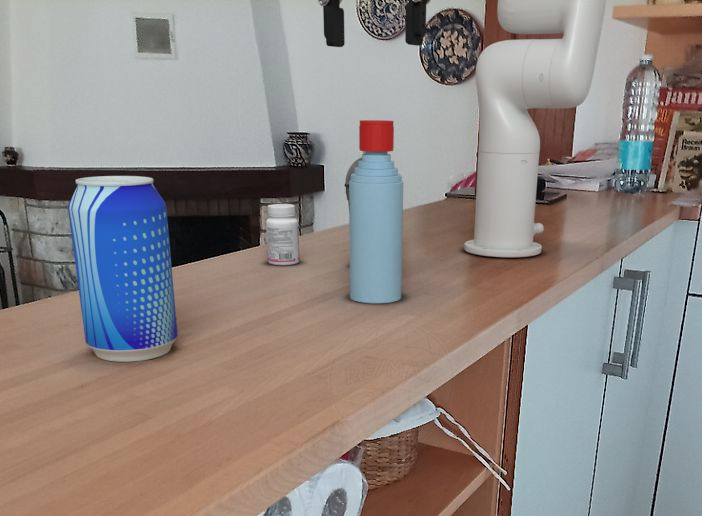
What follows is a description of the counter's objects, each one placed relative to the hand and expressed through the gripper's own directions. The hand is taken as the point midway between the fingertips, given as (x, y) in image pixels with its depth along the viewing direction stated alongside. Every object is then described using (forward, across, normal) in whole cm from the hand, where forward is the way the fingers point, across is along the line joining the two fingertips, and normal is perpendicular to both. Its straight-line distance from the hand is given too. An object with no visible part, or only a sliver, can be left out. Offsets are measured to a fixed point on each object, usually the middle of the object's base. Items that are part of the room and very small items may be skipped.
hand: (373, 45), depth 86 cm
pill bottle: (+29, -22, +14) cm, 39 cm away
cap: (+11, 0, +1) cm, 11 cm away
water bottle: (+29, 0, 0) cm, 29 cm away
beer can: (+28, -11, -30) cm, 43 cm away
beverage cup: (+29, -10, +18) cm, 35 cm away
